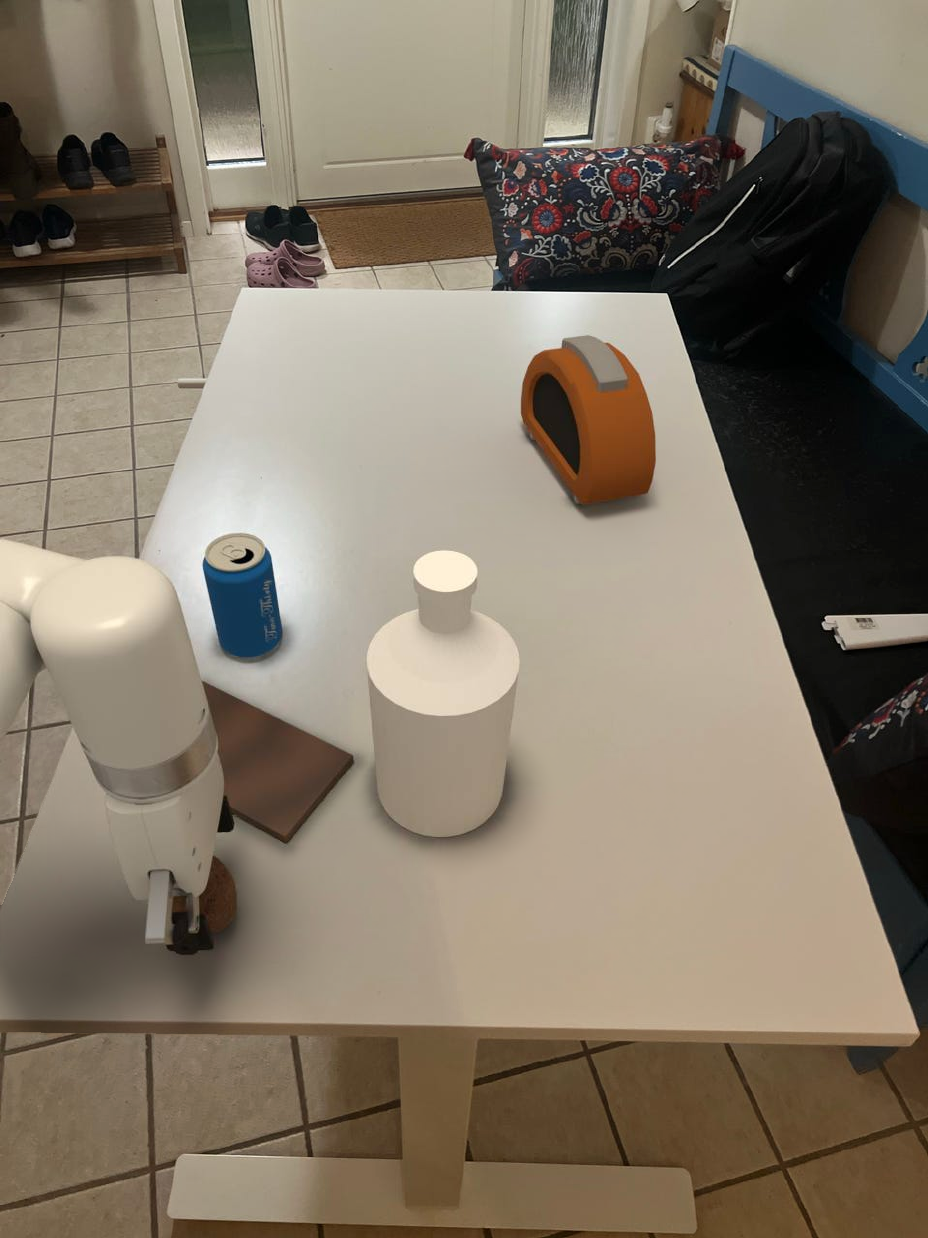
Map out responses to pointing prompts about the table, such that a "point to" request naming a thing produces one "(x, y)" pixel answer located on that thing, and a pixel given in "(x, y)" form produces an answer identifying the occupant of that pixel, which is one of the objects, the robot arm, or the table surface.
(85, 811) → the table surface
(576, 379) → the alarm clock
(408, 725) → the bottle
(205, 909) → the coconut
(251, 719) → the walnut board
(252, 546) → the beverage can
